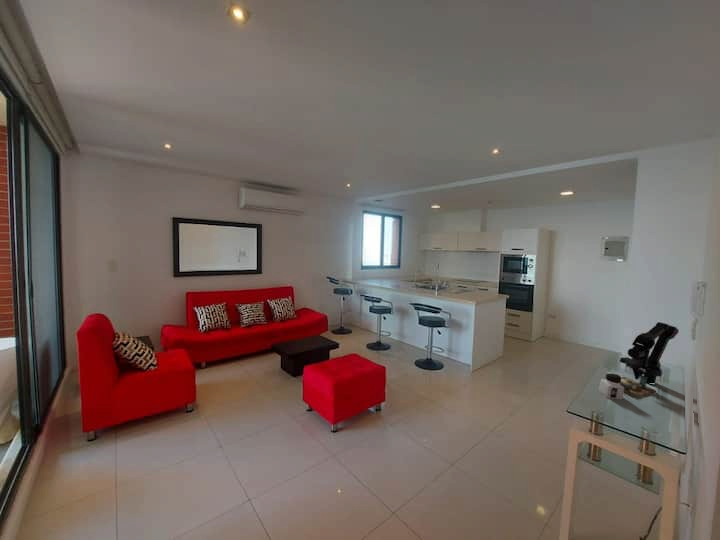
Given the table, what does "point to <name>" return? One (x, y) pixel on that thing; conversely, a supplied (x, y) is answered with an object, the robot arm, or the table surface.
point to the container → (612, 386)
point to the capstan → (634, 384)
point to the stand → (637, 390)
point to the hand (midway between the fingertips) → (636, 379)
